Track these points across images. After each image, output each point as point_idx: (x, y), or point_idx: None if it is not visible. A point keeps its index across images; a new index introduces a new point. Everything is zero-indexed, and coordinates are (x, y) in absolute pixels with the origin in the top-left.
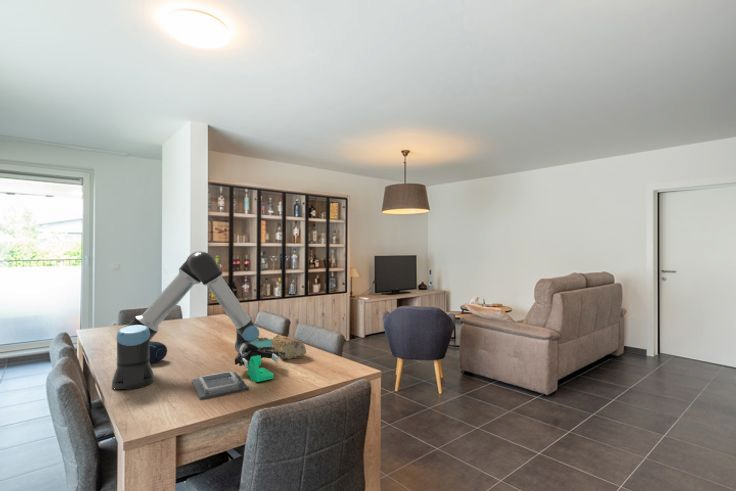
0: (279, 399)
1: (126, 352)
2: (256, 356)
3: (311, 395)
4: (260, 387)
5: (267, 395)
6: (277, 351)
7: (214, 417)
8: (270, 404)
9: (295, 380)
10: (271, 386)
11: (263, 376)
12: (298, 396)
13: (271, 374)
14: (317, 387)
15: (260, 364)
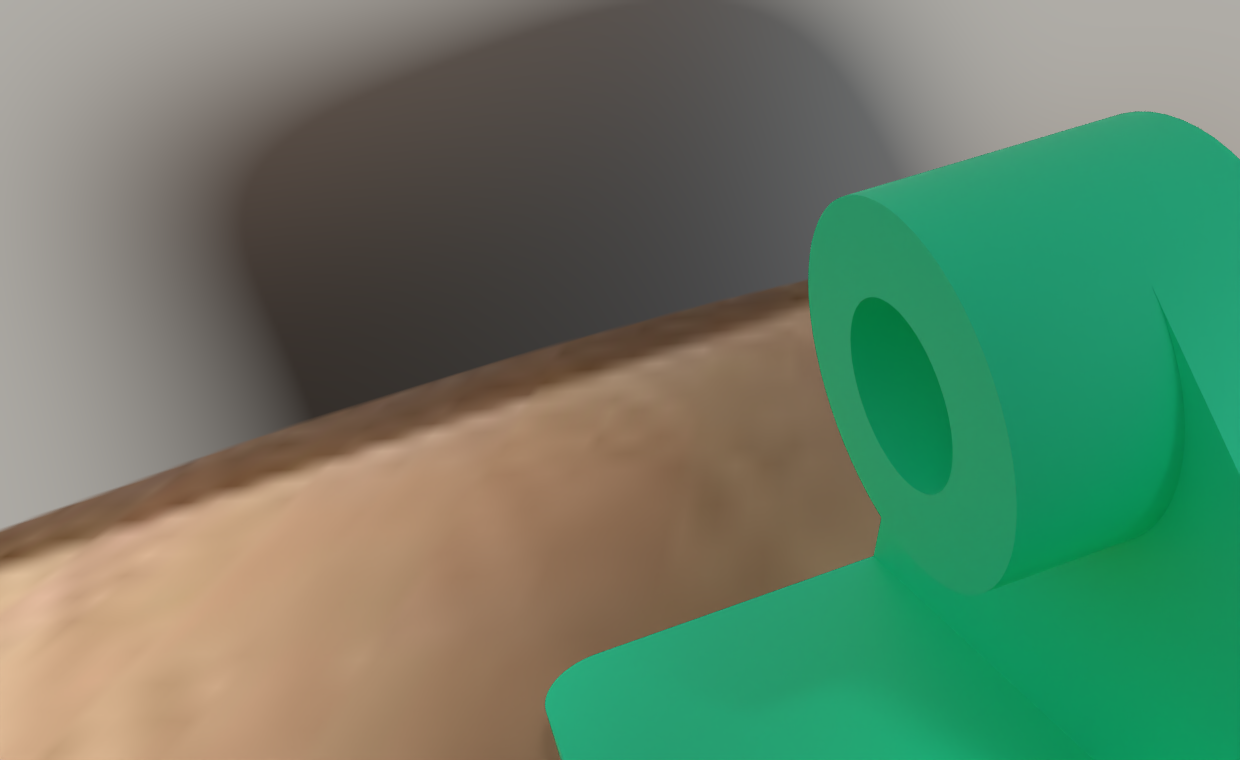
0: (631, 362)
1: None
2: (972, 160)
3: (301, 428)
4: (874, 542)
5: (755, 398)
6: None
7: None
8: (731, 310)
9: (182, 751)
10: (677, 569)
11: (809, 598)
12: (428, 409)
13: (601, 685)
14: (105, 550)
15: (860, 447)
